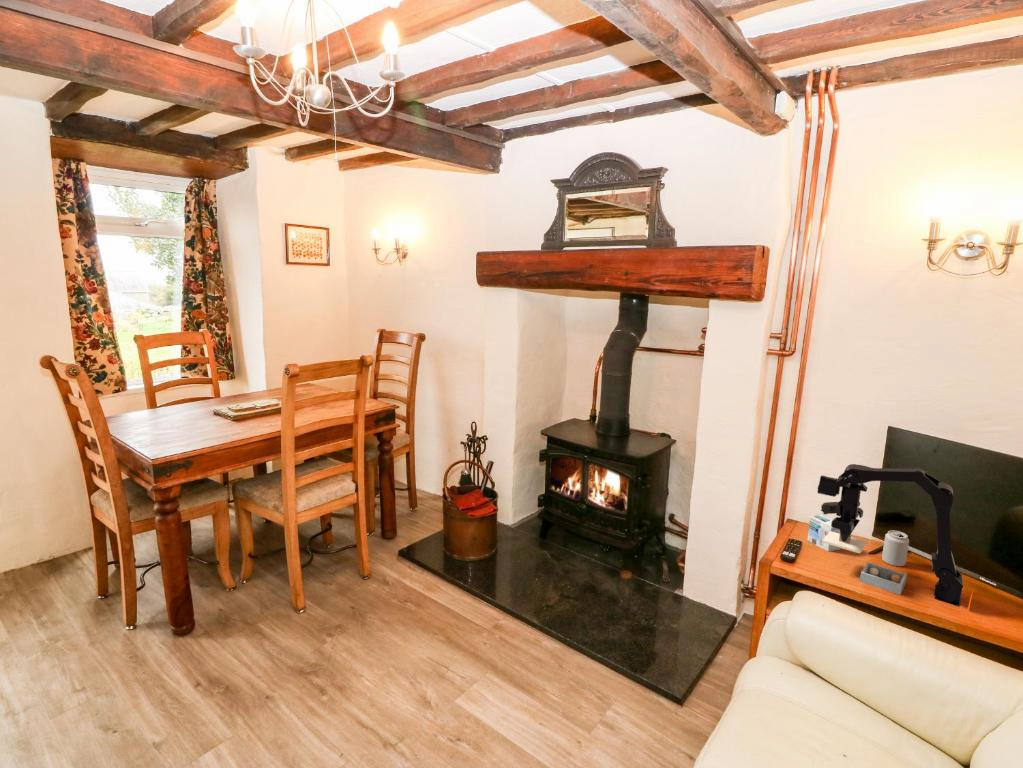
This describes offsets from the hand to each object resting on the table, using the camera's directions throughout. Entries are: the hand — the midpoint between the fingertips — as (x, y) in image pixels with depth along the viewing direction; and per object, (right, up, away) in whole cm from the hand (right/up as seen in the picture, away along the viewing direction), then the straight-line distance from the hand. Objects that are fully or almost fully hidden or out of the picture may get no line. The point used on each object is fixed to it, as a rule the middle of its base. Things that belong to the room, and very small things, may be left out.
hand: (844, 539), depth 201 cm
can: (+23, -11, +8) cm, 27 cm away
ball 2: (+11, -13, -4) cm, 18 cm away
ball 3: (+14, -13, -6) cm, 20 cm away
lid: (0, -1, 0) cm, 1 cm away
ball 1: (+9, -13, -2) cm, 16 cm away
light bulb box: (+4, -9, +21) cm, 23 cm away
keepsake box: (+10, -14, -6) cm, 18 cm away
